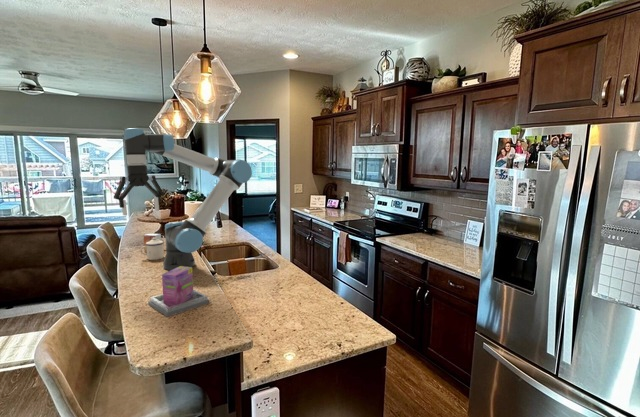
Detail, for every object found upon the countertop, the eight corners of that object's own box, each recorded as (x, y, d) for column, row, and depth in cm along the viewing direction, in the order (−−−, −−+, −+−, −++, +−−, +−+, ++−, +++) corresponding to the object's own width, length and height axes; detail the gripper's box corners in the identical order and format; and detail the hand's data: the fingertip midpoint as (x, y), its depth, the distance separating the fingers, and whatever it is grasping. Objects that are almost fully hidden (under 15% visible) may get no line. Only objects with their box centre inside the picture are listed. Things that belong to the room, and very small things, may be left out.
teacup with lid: (164, 255, 199) (163, 235, 198) (164, 259, 191) (163, 238, 190) (141, 257, 194) (139, 237, 193) (140, 261, 186) (139, 240, 185)
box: (176, 307, 122) (175, 275, 121) (163, 305, 124) (161, 274, 122) (194, 296, 132) (192, 266, 131) (181, 295, 134) (179, 265, 132)
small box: (144, 252, 207) (143, 235, 206) (150, 249, 213) (149, 233, 211) (156, 252, 206) (155, 235, 205) (161, 250, 211) (160, 233, 210)
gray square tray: (189, 292, 140) (189, 289, 140) (209, 303, 129) (209, 300, 129) (148, 304, 128) (148, 301, 128) (167, 316, 117) (166, 313, 117)
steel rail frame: (188, 290, 139) (188, 287, 139) (207, 300, 129) (207, 296, 129) (150, 301, 128) (149, 297, 128) (167, 312, 118) (167, 308, 118)
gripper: (161, 164, 161) (165, 209, 164) (101, 165, 142) (107, 216, 145) (169, 164, 156) (173, 210, 159) (108, 165, 137) (113, 217, 140)
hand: (141, 213), depth 152 cm, fingers open, 13 cm apart
